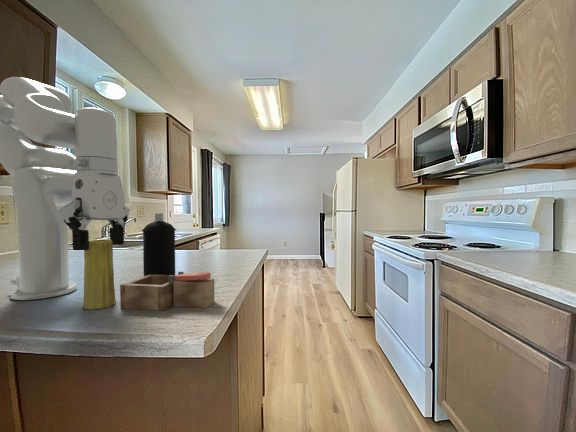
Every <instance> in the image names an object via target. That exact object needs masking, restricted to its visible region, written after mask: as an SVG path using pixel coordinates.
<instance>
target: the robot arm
mask: <svg viewBox="0 0 576 432" xmlns="http://www.w3.org/2000/svg"><path fill="white" fill-rule="evenodd" d="M72 110H73V104H72V101H71V98H70V96H69V95H68V94H67V93H66V92H65V91H63V90H62V89H59V88H56V87H54V86H51V85H48V84H45V83H41V82H39V81H36V80H32V79H29V78H26V77H22V76H10V77H7V78H5V79H4V80H3V81H1V83H0V164H1V166H2V167H3V168H4V170H5V171H6V172H7V174H9V175H10V176H11V182H10V184H11V191H12V195H13V198H14V202H15V206H16V215H17V237H18V239H17V240H18V241H17V242H18V271H19V272H18V275H19V276H16V278H13V279H11V280H10V281H9V282H10V284H11V285H16V289H15V290H14V291H12V292H11V293H10V299H12V300H15V301H31V300H33V301H34V300H41V299H48V298H53V297H59V296H63V295H66V294H69V293H72V292H74V291H75V290H77V283H74V282H70V280H69V279H70V277H69V275H70V274H69V273H70V272H69V271H70V270H69V267H70V266H69V264H70V263H69V231H70V232H71V231H72V233H71V235H72V236H71V237H72V238H71V239H72V250H73V251H84V250H88V249H89V240H90V239H89V237H90V236H89V235H90V233H89V232H90V231H89V230H88V229H87V227H88V226H89V224H90V222H91V221H107V222H109V225H110V226H111V227H109V239H110V240H112V241H113V246H116V245H117V246H120V245H121V246H122V245H124V244H125V232H124V230H125V229H124V228H125V227H126V223H127V221H128V219H129V214H130V208H129V207H127V206H126V201H125V193H124V188H123V184H122V183H123V182H122V179H121V178H122V177H121V176H120V175H119V171H118V170H119V169H118V168H119V167H118V164H119V163H118V144H117V143H118V141H117V138H118V137H117V121H116V120H117V119H116V118H115V117H116V116H114V115H113V113H111V112H110V111H107V110H104V109H101V108H96V107H82V108H79V109H77V110H76V111H75V113H74V114H72ZM31 140H32V141H33V142H36V143H39V144H42V145H48V146H54V147H57V148H58V147H59V148H66V149H71V150H75V155H74V154H72V153H71V152H68V151H66V150H62V149H57V148H50V147H44V146H39V145H36V144H34V143H33V142H32V141H31ZM58 206H59V207H60V206H61V207H60V208H59V207H58Z"/></svg>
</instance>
